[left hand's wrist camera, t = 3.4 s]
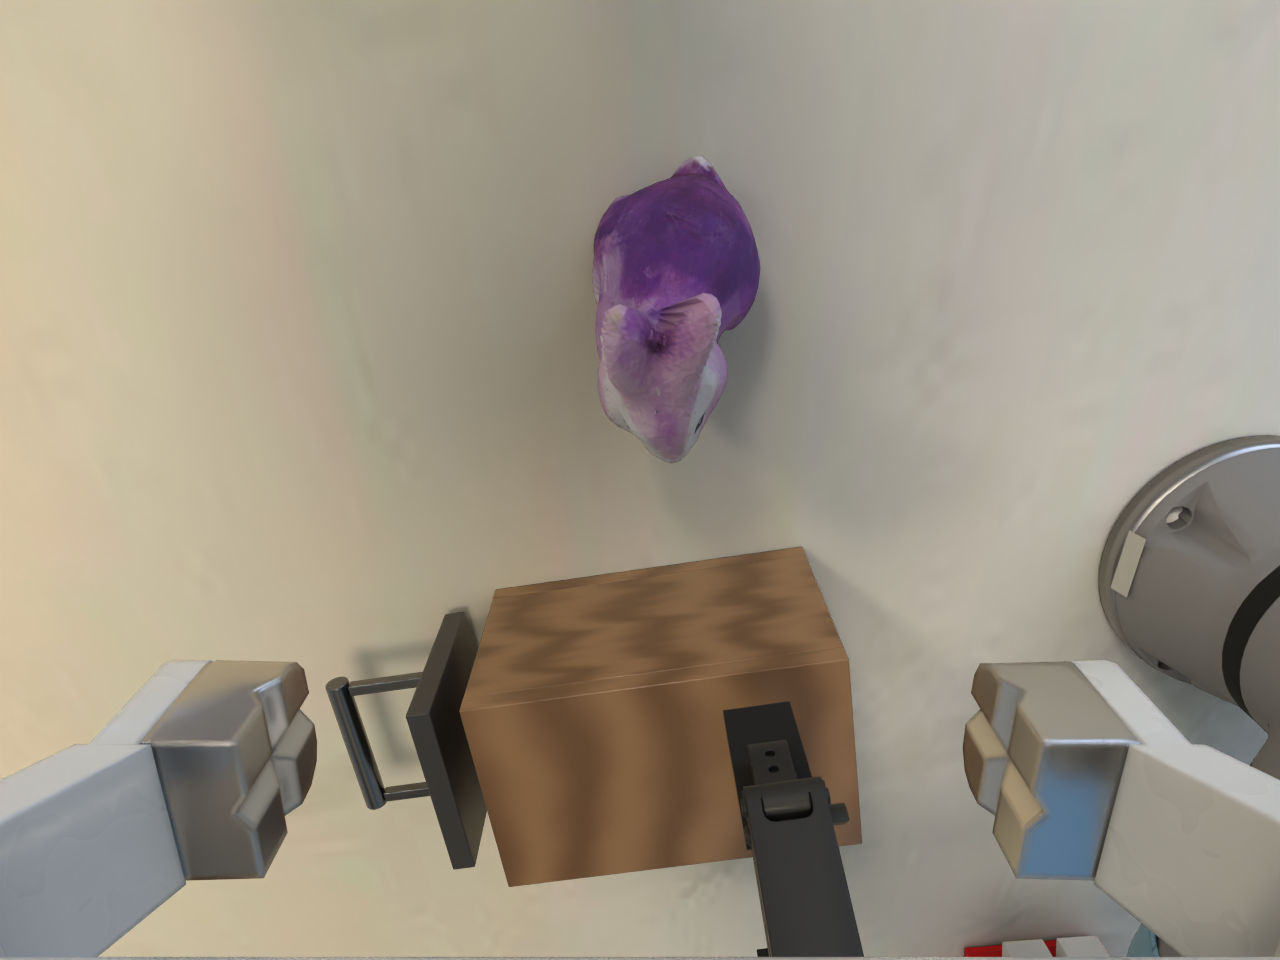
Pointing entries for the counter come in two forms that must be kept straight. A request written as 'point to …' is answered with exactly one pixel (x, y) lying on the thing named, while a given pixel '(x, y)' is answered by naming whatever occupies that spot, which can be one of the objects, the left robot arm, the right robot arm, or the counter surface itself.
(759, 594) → the cabinet
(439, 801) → the drawer
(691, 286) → the figurine
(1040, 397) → the counter surface
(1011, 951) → the toy
